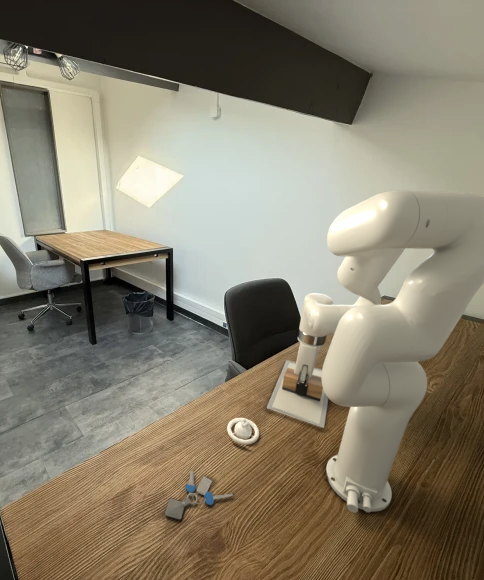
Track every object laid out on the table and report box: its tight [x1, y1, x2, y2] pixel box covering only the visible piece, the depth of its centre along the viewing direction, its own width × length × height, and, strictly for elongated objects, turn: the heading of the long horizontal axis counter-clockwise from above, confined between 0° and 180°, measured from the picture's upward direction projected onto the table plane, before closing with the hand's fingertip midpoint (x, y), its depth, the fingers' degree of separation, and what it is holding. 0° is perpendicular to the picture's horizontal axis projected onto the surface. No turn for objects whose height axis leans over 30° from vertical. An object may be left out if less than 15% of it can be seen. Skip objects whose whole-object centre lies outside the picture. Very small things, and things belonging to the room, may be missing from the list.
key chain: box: [164, 470, 234, 520], centre depth 62 cm, size 14×8×1 cm, turn 114°
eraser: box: [282, 368, 323, 401], centre depth 92 cm, size 5×11×5 cm, turn 62°
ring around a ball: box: [226, 417, 260, 446], centre depth 76 cm, size 8×6×8 cm
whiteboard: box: [266, 359, 329, 429], centre depth 94 cm, size 28×15×1 cm, turn 153°
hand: (302, 388), depth 92 cm, fingers closed on eraser, 5 cm apart
